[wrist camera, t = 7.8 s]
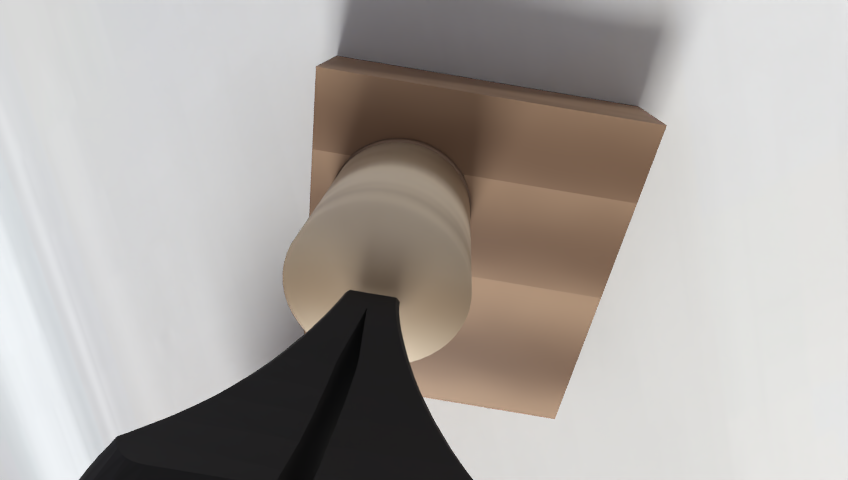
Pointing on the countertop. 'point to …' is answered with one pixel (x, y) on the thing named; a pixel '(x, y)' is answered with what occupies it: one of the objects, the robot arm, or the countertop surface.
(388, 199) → the peg
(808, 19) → the countertop surface
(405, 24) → the countertop surface
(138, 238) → the countertop surface
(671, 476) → the countertop surface
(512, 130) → the board
